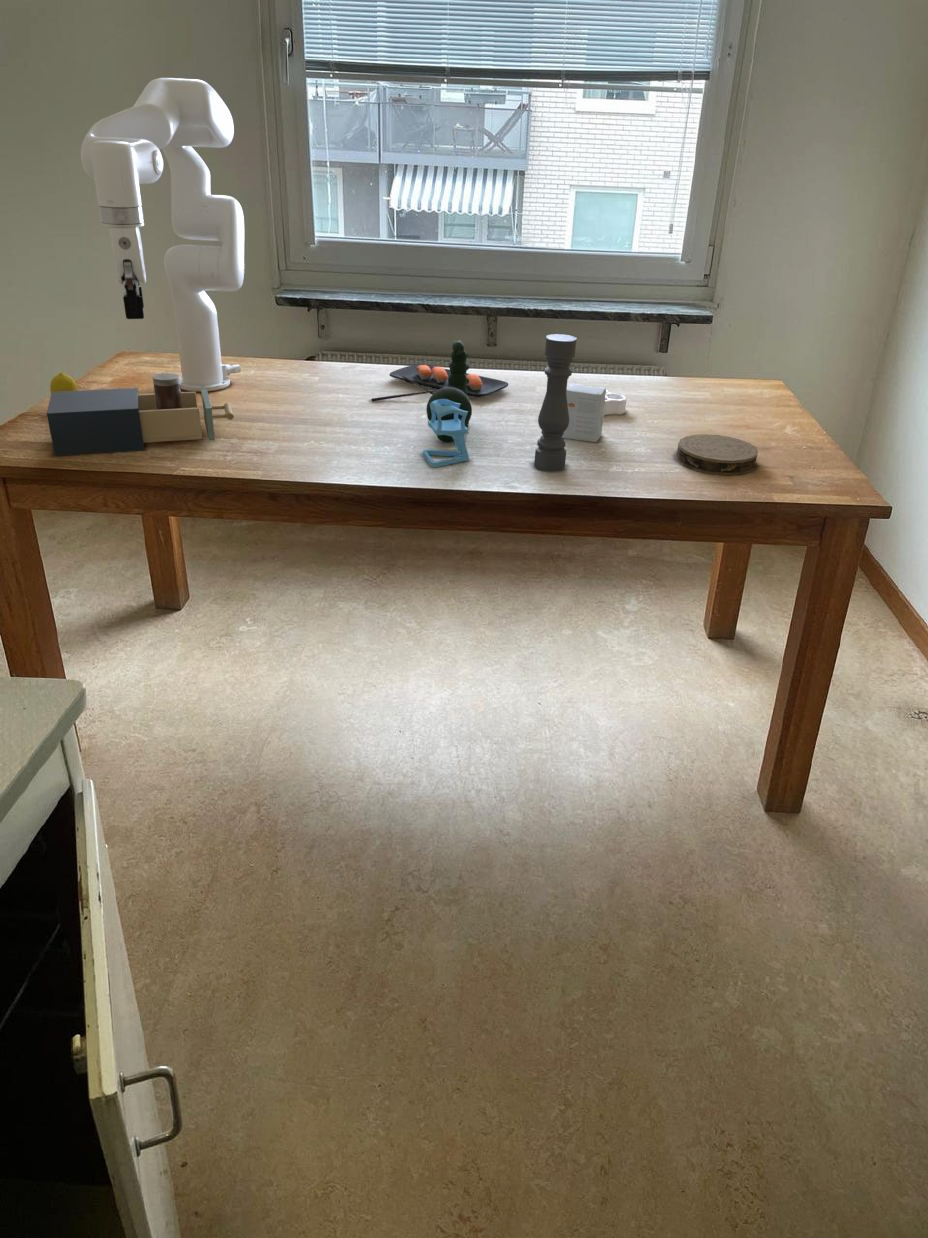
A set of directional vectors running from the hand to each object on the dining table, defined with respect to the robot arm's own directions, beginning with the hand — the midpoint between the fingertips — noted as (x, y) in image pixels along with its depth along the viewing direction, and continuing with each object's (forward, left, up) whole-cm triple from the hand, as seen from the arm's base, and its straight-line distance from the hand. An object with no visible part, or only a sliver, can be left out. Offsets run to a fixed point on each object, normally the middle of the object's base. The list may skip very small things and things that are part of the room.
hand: (135, 313), depth 172 cm
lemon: (+7, -26, -24) cm, 37 cm away
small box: (-72, +55, -24) cm, 94 cm away
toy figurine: (-51, +36, -24) cm, 67 cm away
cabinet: (+10, -2, -24) cm, 26 cm away
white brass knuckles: (-89, +42, -24) cm, 101 cm away
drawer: (-5, +5, -23) cm, 24 cm away
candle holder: (-53, +63, -24) cm, 86 cm away
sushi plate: (-67, +11, -24) cm, 72 cm away
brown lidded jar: (-3, +4, -22) cm, 23 cm away
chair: (-39, +48, -24) cm, 66 cm away
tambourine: (-83, +82, -24) cm, 119 cm away
